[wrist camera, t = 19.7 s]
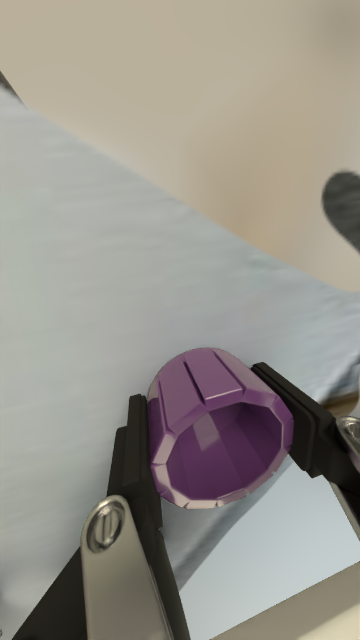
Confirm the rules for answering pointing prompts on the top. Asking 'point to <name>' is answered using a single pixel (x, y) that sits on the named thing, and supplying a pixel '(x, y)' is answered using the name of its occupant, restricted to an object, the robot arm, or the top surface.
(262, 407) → the purple ribbed cup
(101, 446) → the top surface
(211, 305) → the top surface
